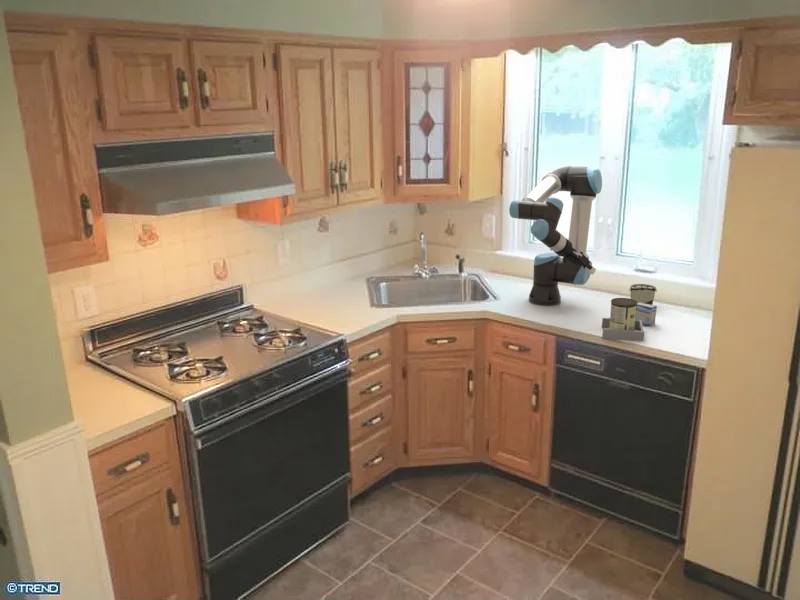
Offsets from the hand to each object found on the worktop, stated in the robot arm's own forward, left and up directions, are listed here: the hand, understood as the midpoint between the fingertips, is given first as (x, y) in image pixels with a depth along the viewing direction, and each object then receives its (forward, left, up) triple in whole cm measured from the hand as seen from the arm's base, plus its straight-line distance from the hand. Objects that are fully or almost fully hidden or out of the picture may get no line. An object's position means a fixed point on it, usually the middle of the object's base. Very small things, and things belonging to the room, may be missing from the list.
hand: (593, 271), depth 298 cm
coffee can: (+17, -13, -22) cm, 30 cm away
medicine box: (+22, +4, -22) cm, 32 cm away
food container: (+15, +29, -22) cm, 40 cm away
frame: (+17, -13, -22) cm, 30 cm away
